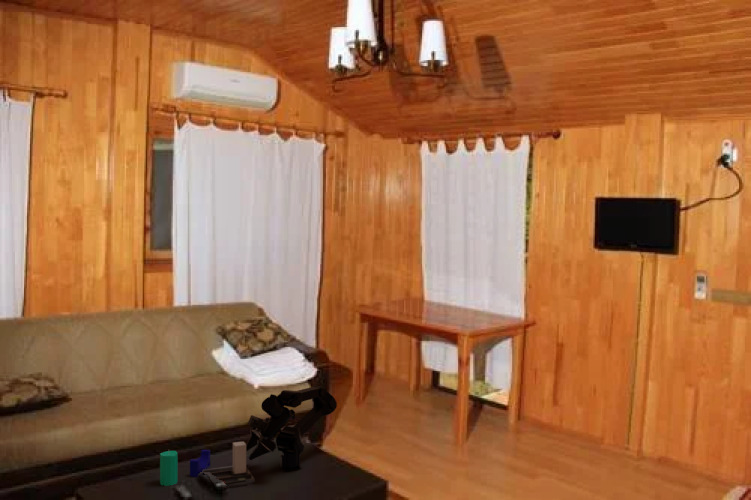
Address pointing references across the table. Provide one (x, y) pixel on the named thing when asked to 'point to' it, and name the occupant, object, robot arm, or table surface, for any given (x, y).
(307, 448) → the table surface
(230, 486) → the cord near
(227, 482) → the panel
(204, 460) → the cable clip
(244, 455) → the pinkish beige rectangular block
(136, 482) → the table surface
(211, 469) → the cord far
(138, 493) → the table surface
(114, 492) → the table surface
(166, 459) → the candle
